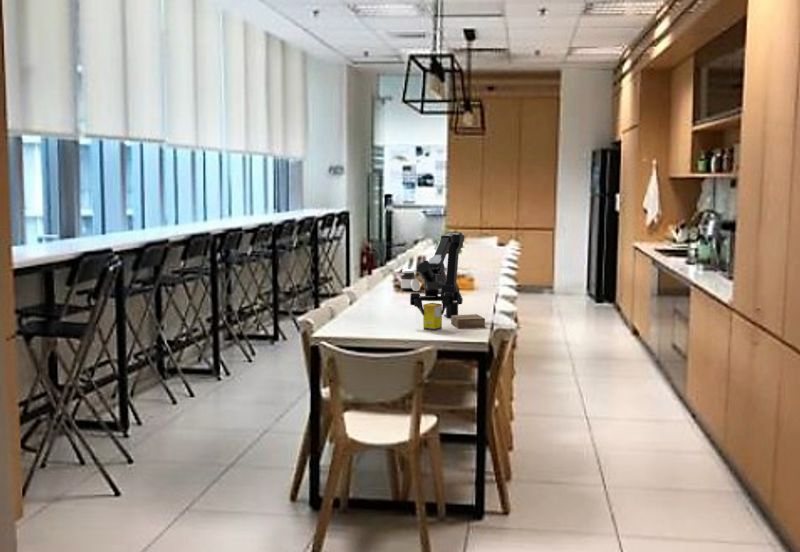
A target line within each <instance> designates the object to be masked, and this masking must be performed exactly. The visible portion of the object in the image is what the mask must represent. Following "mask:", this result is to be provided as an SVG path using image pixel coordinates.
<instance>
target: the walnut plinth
mask: <svg viewBox="0 0 800 552" xmlns="http://www.w3.org/2000/svg"><path fill="white" fill-rule="evenodd" d="M450 324H451V325H452V326H453V327H455V328H457V329H458V330H459V329H460V330H461V329H484V328H486V318H485V317H483V316H481V315H480V314H478V313H473V314H458V315H451V317H450Z"/></svg>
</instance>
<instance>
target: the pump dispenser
mask: <svg viewBox="0 0 800 552" xmlns="http://www.w3.org/2000/svg"><path fill="white" fill-rule="evenodd" d="M436 276H437V282H438V281H442V285H444V284H445V283H446V278H447V273H446V271H445V270H444V271H443V273H442V274H441V275H436ZM438 290H439V294H441V291H442V289H438Z"/></svg>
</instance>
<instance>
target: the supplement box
mask: <svg viewBox="0 0 800 552" xmlns="http://www.w3.org/2000/svg"><path fill="white" fill-rule="evenodd" d="M442 305H443V304H442V303H435V302H430V303H424V304H422V306H423V311H424V315H422V316H423V324H422V325H423V330H425V329H426V330H427V331H438V330H441V329H443V315H442Z"/></svg>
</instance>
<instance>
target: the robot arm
mask: <svg viewBox="0 0 800 552" xmlns="http://www.w3.org/2000/svg"><path fill="white" fill-rule="evenodd" d="M464 242H465V235H464V234H463V233H462V232H456V231H455V232H449V231H448V232H447V233H443V234H441V235H440V241H439V243H438V246H437V248H436V250H435V253H434V254H433V256H432V257H431V258H429V259H428V260H423V262H420V263H419V264H418V266H417V267H416V270H417V272H418V274H419V276H420V277H421V279H422V280H423V282H424V284H423V285H424V295H420V293H421V292H411V293H410V294H409V295H410V297H409V305H410V306H414V307H416V308H417V309H418V310H419V311H420V313H421V315H422V316H423V315H424V311H423V302H424V301H425V302H426V301H427V302H441V304H442V316H444V317H446V318H451V315H459V305H463V299H464V298H463V297H462V295H461V292H460V287H459V284H458V281H457V280H458V278H457V277H458V269H459V268H458V266H459V257H460V256H459V255H460V253H459V252H460V250H461V249H462V248H463V246H464ZM447 254H448V255H447ZM446 256H447V266H446V267H447V268H446V283H445V284H444V285H442V281H438V282H437V276H436V275H441V274H442V273H443V271H445V263H444V261H445V260H446ZM438 289H442V291H441V293H439V290H438ZM439 294H440V295H439ZM444 313H445V314H444Z"/></svg>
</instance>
